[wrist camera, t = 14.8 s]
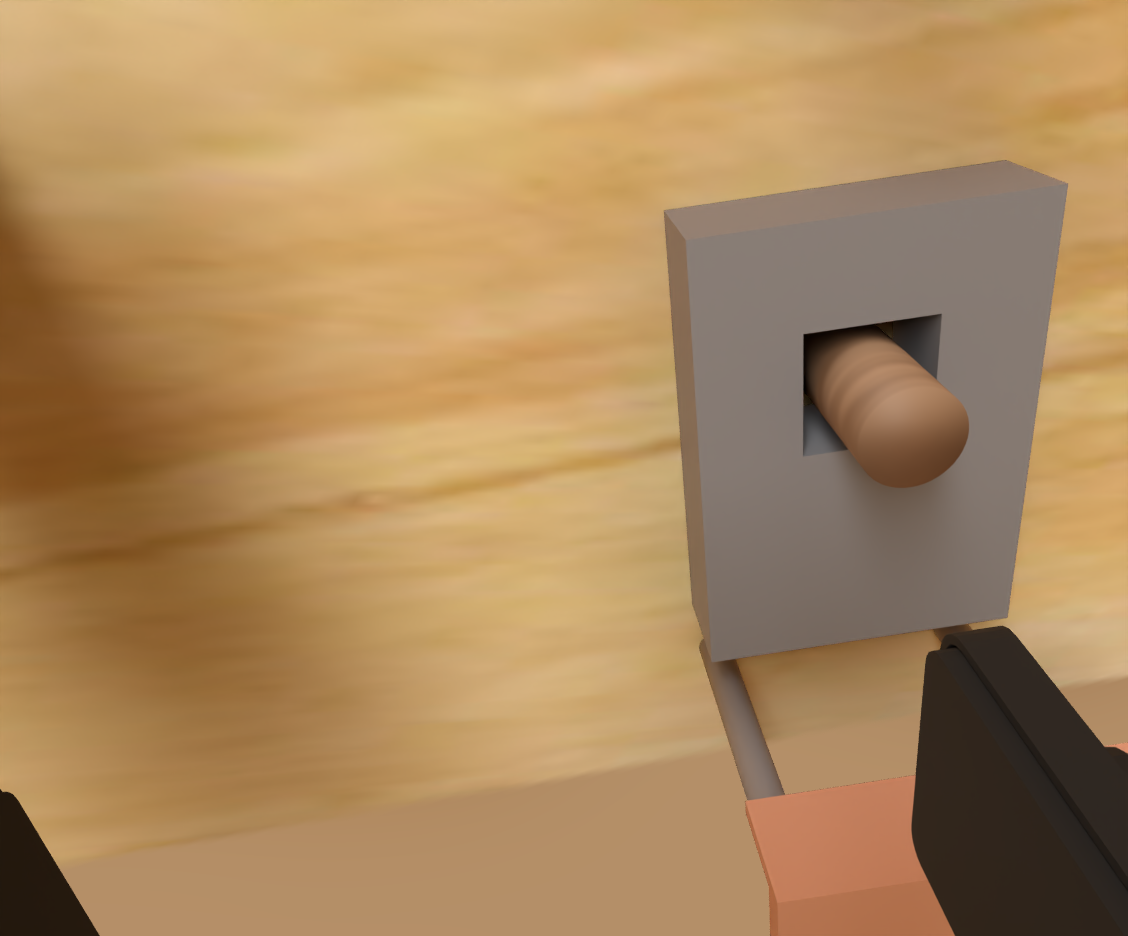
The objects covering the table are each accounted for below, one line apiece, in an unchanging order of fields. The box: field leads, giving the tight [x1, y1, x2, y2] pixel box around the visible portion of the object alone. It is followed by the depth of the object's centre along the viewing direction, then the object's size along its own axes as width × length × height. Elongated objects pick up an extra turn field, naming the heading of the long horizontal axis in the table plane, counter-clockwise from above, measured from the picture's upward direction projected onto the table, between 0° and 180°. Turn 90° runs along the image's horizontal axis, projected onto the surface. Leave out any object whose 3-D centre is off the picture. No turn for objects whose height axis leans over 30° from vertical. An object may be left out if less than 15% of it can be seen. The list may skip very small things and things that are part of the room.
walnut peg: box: [803, 324, 969, 488], centre depth 37 cm, size 4×4×9 cm
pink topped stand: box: [699, 624, 1128, 936], centre depth 39 cm, size 8×16×19 cm, turn 97°
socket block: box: [664, 160, 1068, 662], centre depth 40 cm, size 20×14×4 cm
